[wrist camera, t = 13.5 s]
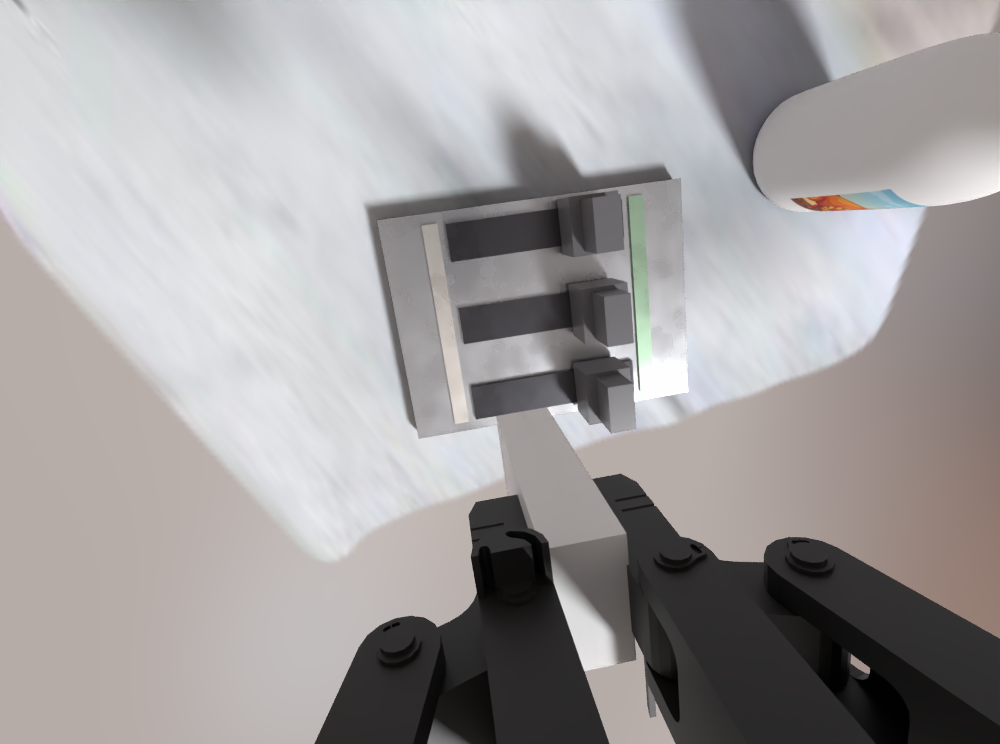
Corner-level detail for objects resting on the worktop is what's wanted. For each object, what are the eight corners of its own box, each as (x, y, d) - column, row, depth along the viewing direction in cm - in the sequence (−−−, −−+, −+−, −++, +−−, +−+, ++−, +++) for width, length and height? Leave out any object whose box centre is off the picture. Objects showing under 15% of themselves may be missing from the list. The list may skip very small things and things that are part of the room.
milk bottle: (728, 184, 37) (1053, 140, 18) (784, 71, 35) (1207, -112, 16) (815, 229, 38) (1199, 235, 19) (872, 124, 37) (1351, 15, 18)
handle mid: (568, 284, 35) (591, 294, 30) (611, 277, 36) (642, 286, 31) (573, 335, 36) (596, 353, 31) (615, 328, 37) (645, 345, 32)
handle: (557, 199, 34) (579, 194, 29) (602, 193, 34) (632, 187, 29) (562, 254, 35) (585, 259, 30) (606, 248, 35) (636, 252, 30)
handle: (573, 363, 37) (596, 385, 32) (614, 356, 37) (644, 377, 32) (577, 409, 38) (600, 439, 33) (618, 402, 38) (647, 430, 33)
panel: (378, 220, 34) (376, 220, 33) (672, 179, 36) (682, 177, 35) (419, 432, 39) (418, 440, 37) (681, 387, 40) (690, 393, 39)
